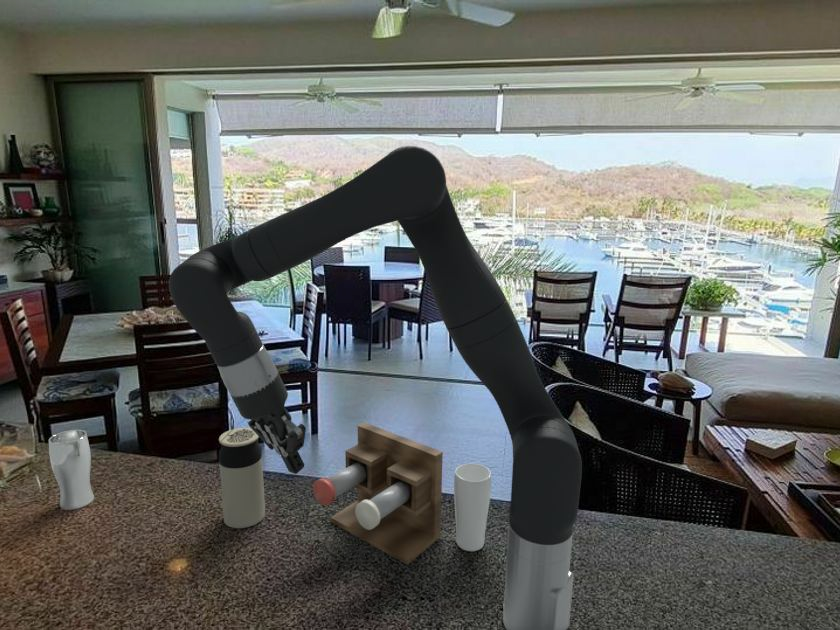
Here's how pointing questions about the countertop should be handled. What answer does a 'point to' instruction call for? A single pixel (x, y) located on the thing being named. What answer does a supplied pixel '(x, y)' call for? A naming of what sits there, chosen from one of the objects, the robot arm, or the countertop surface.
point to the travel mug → (241, 478)
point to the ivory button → (381, 505)
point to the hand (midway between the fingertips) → (297, 469)
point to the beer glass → (72, 468)
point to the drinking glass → (471, 505)
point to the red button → (338, 483)
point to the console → (386, 466)
